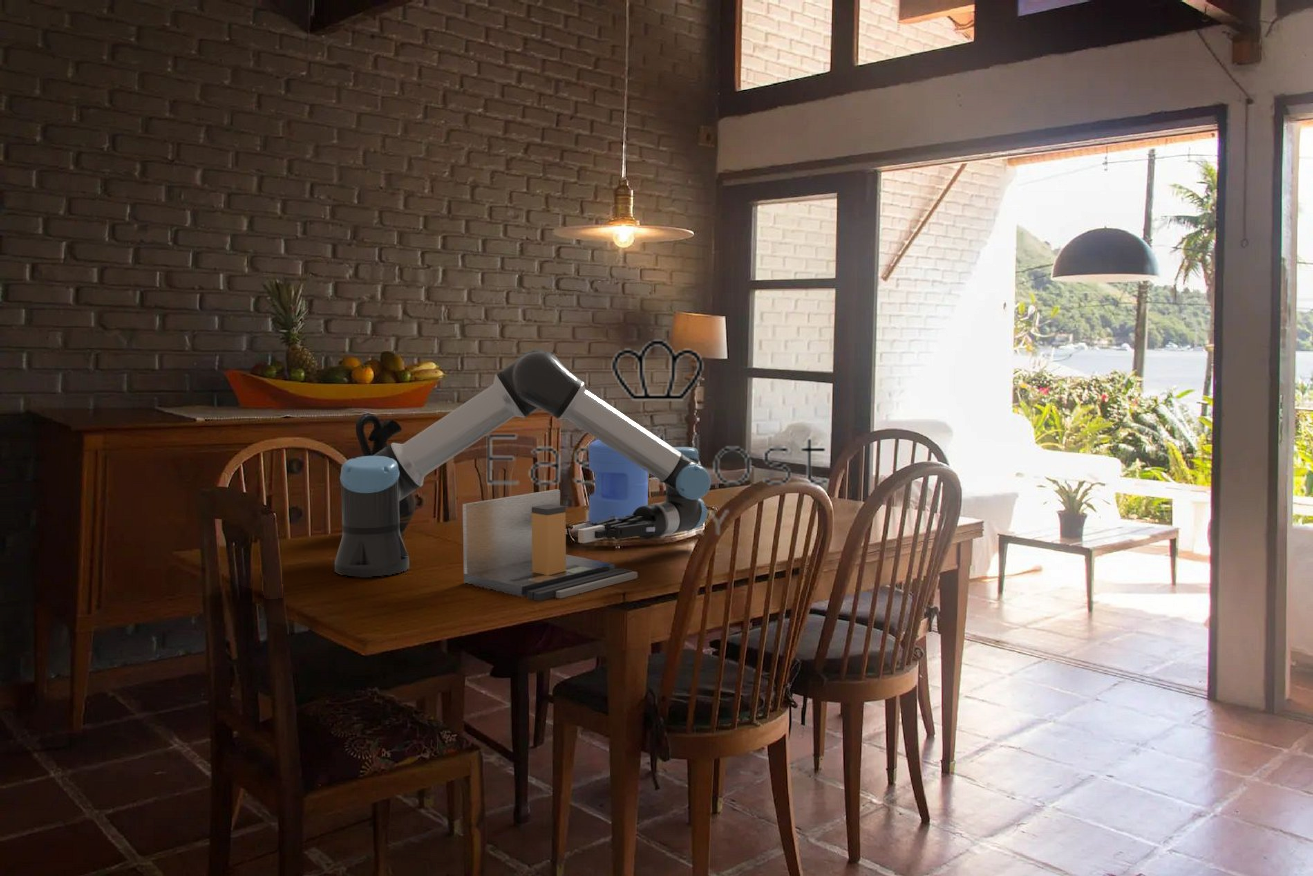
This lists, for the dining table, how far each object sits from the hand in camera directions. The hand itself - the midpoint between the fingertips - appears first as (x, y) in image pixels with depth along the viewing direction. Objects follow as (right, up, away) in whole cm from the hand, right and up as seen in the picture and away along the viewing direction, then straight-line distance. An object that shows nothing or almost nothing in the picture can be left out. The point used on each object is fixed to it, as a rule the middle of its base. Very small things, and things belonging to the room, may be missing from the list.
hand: (580, 536), depth 219 cm
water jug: (+6, -2, +59) cm, 60 cm away
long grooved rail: (+1, -9, -11) cm, 14 cm away
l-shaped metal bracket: (-8, -8, -3) cm, 12 cm away
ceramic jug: (-52, -4, +41) cm, 67 cm away
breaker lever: (-6, -6, -6) cm, 11 cm away
